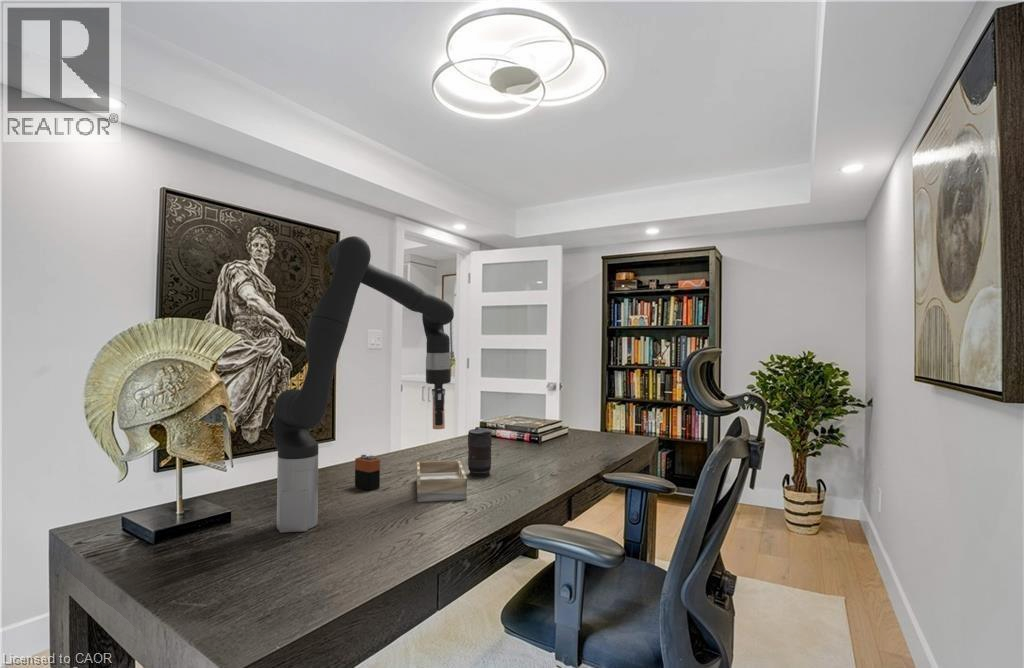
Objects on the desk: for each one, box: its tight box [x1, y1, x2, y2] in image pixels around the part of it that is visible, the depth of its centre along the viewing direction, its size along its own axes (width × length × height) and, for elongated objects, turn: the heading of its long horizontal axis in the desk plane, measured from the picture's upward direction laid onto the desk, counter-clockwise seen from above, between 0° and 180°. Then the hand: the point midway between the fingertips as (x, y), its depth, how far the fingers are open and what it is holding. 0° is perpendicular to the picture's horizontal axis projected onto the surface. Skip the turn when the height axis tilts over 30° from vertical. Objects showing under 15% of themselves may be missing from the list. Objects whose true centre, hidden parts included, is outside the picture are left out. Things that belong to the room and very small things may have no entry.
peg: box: [432, 404, 446, 430], centre depth 156 cm, size 4×4×9 cm
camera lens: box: [467, 428, 493, 478], centre depth 174 cm, size 8×8×15 cm
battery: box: [354, 454, 381, 492], centre depth 158 cm, size 4×7×10 cm, turn 58°
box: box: [416, 460, 468, 503], centre depth 157 cm, size 22×14×6 cm, turn 11°
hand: (438, 423), depth 156 cm, fingers closed on peg, 3 cm apart
